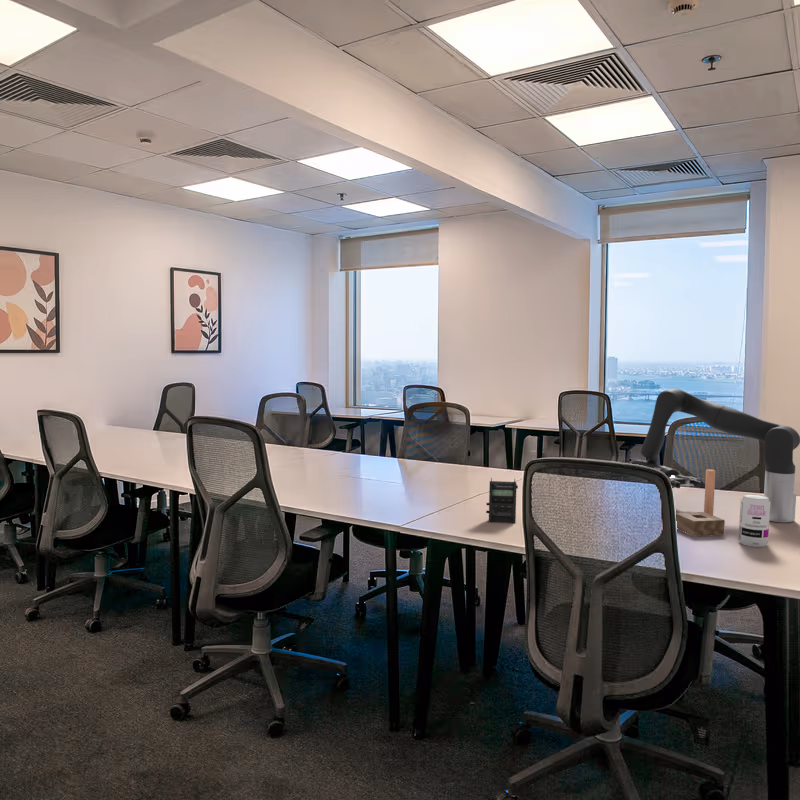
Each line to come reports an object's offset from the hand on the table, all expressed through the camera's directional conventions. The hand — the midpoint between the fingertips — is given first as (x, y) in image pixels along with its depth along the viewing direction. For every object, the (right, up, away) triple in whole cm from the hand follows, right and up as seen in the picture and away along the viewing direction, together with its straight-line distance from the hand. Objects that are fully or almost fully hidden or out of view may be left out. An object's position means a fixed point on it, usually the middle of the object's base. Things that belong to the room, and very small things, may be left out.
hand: (690, 485), depth 255 cm
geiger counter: (-71, -11, -15) cm, 74 cm away
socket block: (-7, -12, -24) cm, 28 cm away
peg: (+2, -11, -10) cm, 15 cm away
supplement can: (+4, -14, -38) cm, 41 cm away
